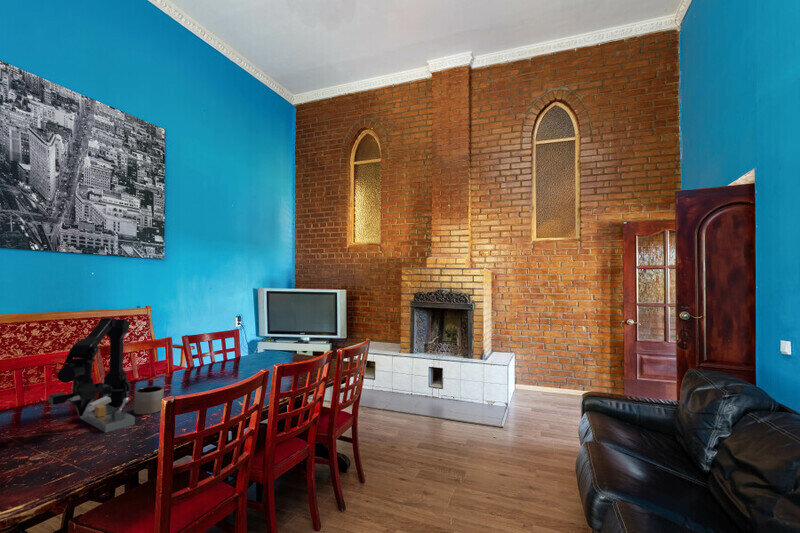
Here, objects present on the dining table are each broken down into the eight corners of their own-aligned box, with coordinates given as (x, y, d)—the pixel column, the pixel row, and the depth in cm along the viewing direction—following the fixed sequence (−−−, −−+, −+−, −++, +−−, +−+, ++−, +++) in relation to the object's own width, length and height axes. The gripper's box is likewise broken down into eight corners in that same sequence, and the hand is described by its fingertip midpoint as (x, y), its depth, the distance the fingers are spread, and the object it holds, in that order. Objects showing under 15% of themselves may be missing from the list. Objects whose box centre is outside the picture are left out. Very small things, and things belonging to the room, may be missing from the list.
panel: (108, 411, 168) (108, 399, 168) (134, 424, 155) (135, 410, 155) (80, 418, 160) (80, 405, 160) (105, 432, 147) (106, 418, 147)
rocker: (107, 399, 166) (106, 395, 166) (111, 401, 164) (110, 397, 164) (85, 409, 160) (84, 405, 159) (89, 411, 158) (88, 407, 157)
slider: (101, 413, 157) (102, 404, 157) (105, 415, 156) (105, 406, 156) (94, 415, 155) (95, 406, 155) (98, 417, 154) (98, 408, 154)
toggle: (117, 416, 154) (128, 398, 157) (119, 417, 153) (130, 398, 156) (112, 415, 153) (123, 396, 156) (114, 416, 151) (126, 397, 155)
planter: (168, 407, 176) (169, 386, 176) (150, 416, 165) (152, 393, 165) (146, 406, 177) (147, 385, 177) (127, 414, 166) (128, 392, 166)
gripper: (59, 384, 138) (57, 428, 138) (119, 374, 154) (117, 413, 154) (48, 379, 144) (46, 421, 144) (107, 370, 160) (105, 407, 160)
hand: (80, 416), depth 150 cm, fingers closed
